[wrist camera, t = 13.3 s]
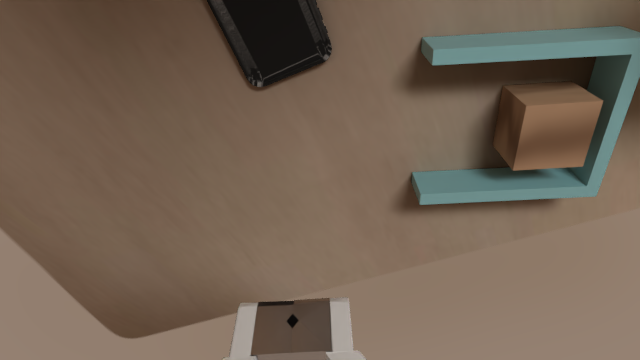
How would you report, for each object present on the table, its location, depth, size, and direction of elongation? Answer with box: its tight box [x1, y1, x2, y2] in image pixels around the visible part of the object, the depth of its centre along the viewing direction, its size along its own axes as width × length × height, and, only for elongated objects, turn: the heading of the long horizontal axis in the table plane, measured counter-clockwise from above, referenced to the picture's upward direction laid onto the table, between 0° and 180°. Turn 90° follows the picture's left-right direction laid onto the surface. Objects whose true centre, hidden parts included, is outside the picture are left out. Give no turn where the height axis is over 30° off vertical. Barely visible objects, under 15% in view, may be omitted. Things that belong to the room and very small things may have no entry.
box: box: [411, 26, 640, 205], centre depth 36 cm, size 14×16×4 cm
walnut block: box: [493, 81, 603, 171], centre depth 36 cm, size 6×6×5 cm
